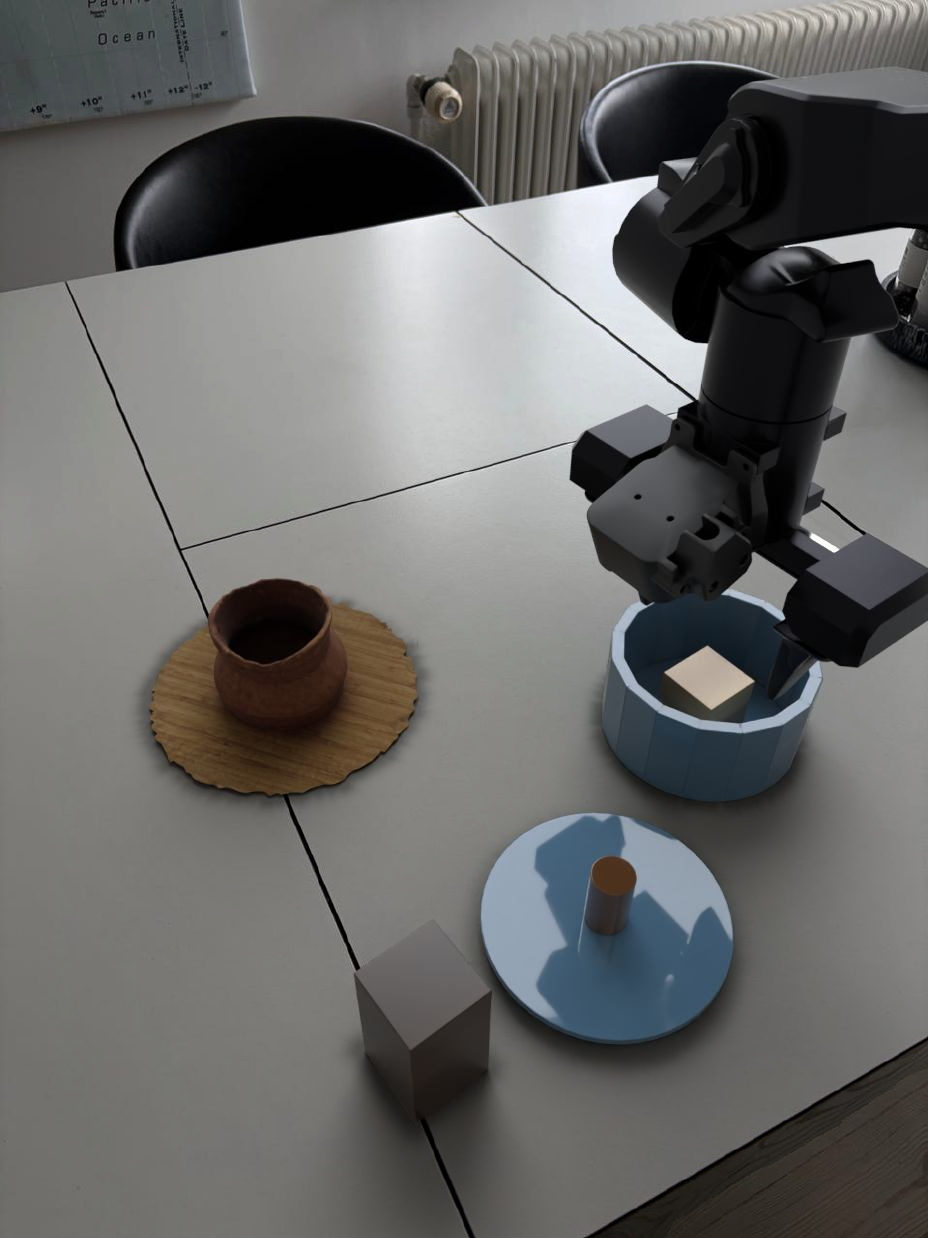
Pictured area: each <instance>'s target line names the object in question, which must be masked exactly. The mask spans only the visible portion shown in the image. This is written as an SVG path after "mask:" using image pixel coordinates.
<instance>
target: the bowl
mask: <svg viewBox="0 0 928 1238" xmlns="http://www.w3.org/2000/svg"><path fill="white" fill-rule="evenodd" d="M784 619H785V617H784V615H783V612H782V610H780V609H779V608H778V607H776V605H773V604H772V603H770V602H769V601H767V600H765V599H761V598H758V597H756V596H753V595H751V594H747V593H744V592H741V591H739V590H737V589H733V588H730V587H729V588H728V589H727V590H726V591H725V592H724V593H722V594H721V595H720V596H719V597H718V598H717V599H716V600H713V601H704V600H703V599H701V598H700V597H698V596H697V595H695V594H687V595H685V596H684V597H683V598H680V599H677V598H676V599H675V600H673V601H671V602H668V603H662V604H659V603H652V604H650V605H648V606H645V605H644V604H643V603H641V601H640V600H638V601H636V602H634V603H633V604H631V605H629V606H628V607H627V609H626V610H625V612H624V613H623V614H622V615H621V617H620V619H619V620H618V621H617V623H616V625H614V627H613V628H612V631H611V637H610V643H609V650H608V658H607V664H606V671H605V678H604V686H603V692H602V706H601V707H602V709H601V724H602V728H603V729H602V730H603V733H604V736H605V738H606V741H607V743H608V745H609V746H610V748H611V750H612V751H613V753H614V754H615V756H616V757H617V758H618V759H619V761H620V762H621V763H622V764H623V765H624V766H625V767H626V769H628V770H629V771H630V772H631V773H633V774H634V775H635V776H637V777H638V778H639V779H640V780H642V781H644V782H646V783H647V784H648V785H650V786H653V787H655V788H656V789H658V790H660V791H663V792H665V793H668V794H671V795H673V796H677V797H679V798H684V799H688V800H692V801H700V802H711V803H712V802H713V803H717V802H731V801H738V800H743V799H747V798H749V797H753V796H755V795H758V794H761V793H763V792H764V791H766V790H768V789H770V788H771V787H772V786H774V785H775V784H776V783H777V782H779V781H780V780H781V779H783V778H784V775H786V773H788V771H789V770H790V769H791V766H792V764H793V762H794V760H795V758H796V754H797V752H798V750H799V747H800V745H801V742H802V741H803V737H804V734H805V732H806V729H807V727H808V723H809V720H810V718H811V715H812V712H813V710H814V707H815V704H816V701H817V698H818V695H819V692H820V690H821V687H822V684H823V681H824V675H823V670H822V664H821V663H822V662H821V661H817V662H816V663H815V664H814V665H813V666H812V667H811V668H810V669H809V670H808V671H807V672H806V673H805V674H804V675H803V676H802V677H801V678H800V679H799V680H798V681H797V682H796V683H795V684H794V685H793V686H792V687H791V688H790V689H789V690H788V691H787V692H786V693H784V694H783V695H782V696H780V697H779V698H777V699H776V700H774V701H772V700H770V699H769V698H768V697H767V689H768V681H769V677H770V674H771V671H772V669H773V666H774V663H775V660H776V657H777V654H778V651H779V648H780V645H781V642H782V639H783V636H781V635H780V634H779V633H777V632H776V631H774V630H773V626H774V625H776V624H777V623H779V622H781V621H782V620H784ZM706 646H709V647H710V648H711V649H713V650H714V651H715V652H717V653H718V654H719V655H721V656H722V657H723V658H725V659H726V660H727V661H729V662H730V663H731V664H733V665H734V666H735V667H737V668H738V669H739V670H741V671H742V672H743V673H745V674H746V675H747V676H749V677H750V678H751V679H753V680H754V681H755V683H754V686H753V690H752V693H751V697H750V700H749V704H748V707H747V710H746V714H745V717H744V721H743V723H740V724H738V723H728V722H718V721H708V720H700V719H698V718H695V717H693V716H690V715H688V714H685V713H683V712H680V711H678V710H675V709H673V708H670V707H668V706H665V705H663V704H662V703H661V702H660V701H658V699H659V694H660V689H661V684H662V679H663V674H664V672H665V671H667V670H669V669H670V668H672V667H673V666H675V665H677V664H678V663H680V662H682V661H683V660H685V659H686V658H688V657H690V656H691V655H693V654H694V653H696V652H698V651H699V650H701V649H703V648H704V647H706Z"/></svg>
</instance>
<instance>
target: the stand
mask: <svg viewBox="0 0 928 1238" xmlns="http://www.w3.org/2000/svg"><path fill="white" fill-rule="evenodd" d="M353 979H354V985H355V993H356V999H357V1006H358V1012H359V1013H358V1014H359V1020H360V1027H361V1033H362V1040H363V1047H364V1052H365V1053H366V1055H367V1056H368V1058H369V1060H370V1061H371V1062H372V1064H373V1065H374V1067H375V1068H376V1069H377V1071H378V1072H379V1074H380V1075H381V1077H382V1078H383V1079H384V1081H385V1082H386V1084H387V1085H388V1086H389V1088H390V1090H391V1091H392V1093H393V1094H394V1095H395V1097H396V1098H397V1100H398V1101H399V1103H400V1104H401V1105H402V1107H403V1108H404V1110H405V1111H406V1113H407V1115H408V1116H409V1117H410V1119H411V1120H412V1122H413V1123H414V1124H415V1125H418V1124H419V1123H420V1122H422V1120H424V1119H425V1118H426V1117H428V1116H429V1115H430V1114H432V1113H433V1112H434V1111H435V1110H437V1109H438V1108H439V1107H440V1106H442V1105H443V1104H444V1103H446V1102H447V1101H448V1100H449V1099H451V1098H452V1097H453V1096H454V1095H456V1094H457V1093H458V1092H459V1091H461V1090H462V1089H463V1088H465V1087H466V1086H467V1085H469V1084H470V1083H471V1082H473V1081H474V1080H475V1079H476V1078H478V1077H479V1076H480V1075H481V1074H483V1073H484V1072H485V1071H487V1070H488V1069H489V1060H490V1040H491V1019H492V1018H491V1017H492V995H493V991H492V989H491V988H490V987H489V985H488V984H487V983H486V982H485V980H484V979H483V978H482V977H481V976H480V974H479V973H478V972H477V971H476V969H475V968H474V967H473V966H472V965H471V963H470V962H469V961H468V960H467V959H466V957H465V956H464V955H463V953H462V952H461V951H460V950H459V949H458V948H457V947H456V945H455V944H454V943H453V941H452V940H451V939H450V937H449V936H448V935H447V934H446V933H445V932H444V930H443V929H442V928H441V927H440V926H439V924H438V923H437V922H436V921H435V920H434V919H431V920H429V921H428V922H427V923H424V925H422V926H420V927H419V928H417V930H415V931H414V932H412V933H410V934H409V935H407V936H406V937H405V938H403V939H401V940H400V941H399V942H397V943H396V944H394V945H392V946H391V947H390V948H388V949H387V950H385V951H383V952H382V953H380V954H379V955H378V956H376V957H374V958H373V959H372V960H371V961H369V962H368V963H366V964H365V965H363V966H362V967H360V968H358V969H357V970H356V971H354V972H353Z"/></svg>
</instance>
